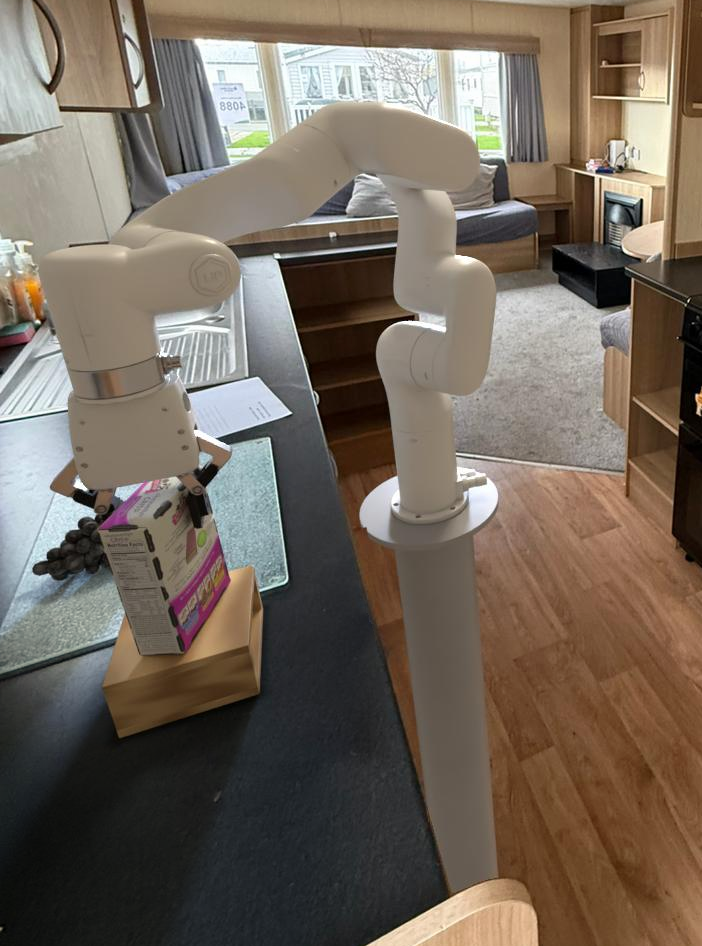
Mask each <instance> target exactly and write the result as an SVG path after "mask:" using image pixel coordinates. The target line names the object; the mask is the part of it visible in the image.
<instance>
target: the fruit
mask: <svg viewBox="0 0 702 946" xmlns="http://www.w3.org/2000/svg"><path fill="white" fill-rule="evenodd" d="M126 500H127V499H126ZM126 500H123V502H125V501H126ZM103 523H104V522H103V519H102V516H101V515H98V514H96V515H94V518H93V517H91V516H88V515H87V516H83V517H80V519H78V521H77V525H76V526H77V527H78V529H70V530H69V531H67V532H66V533H65V535H64V539H63V540H62V541H61V542H60V543H59V547H57V546H55V547H53V548H50V549H49V550H48V551H47V552H46V555H45V557H46V559H45V560H39V561H38V562H36V563H34V564H33V566H32V567H31V571H32V572H31V573H32V574H33V575H35V576H38V577H41V576H45V575H47V574H49V575H50V577H51V578H52V579H53V580H54V581H58V582H59V581H60V582H61V581H64V580H67V578H68V577H69V575H70V576H74V575H75V576H76V575H78V574H80V573H83V572H85V574H87V575H95V574H97V573H98V572H99V570H100V567H101V568H102V569H110V567H109V564H108V561H107V558H106V555H105V552H104V549H103V546H102V544H101V541H100V538H99V535H98V532H97V529H98V528H99V527H100V526H101V525H102V524H103Z"/></svg>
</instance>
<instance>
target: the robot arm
mask: <svg viewBox="0 0 702 946" xmlns="http://www.w3.org/2000/svg"><path fill="white" fill-rule="evenodd" d="M480 167H481V155H480V151H479V148H478V146H477V143H476V142H475V140H474V139H473V137H472V136H471V135H470V134H469V133H468V132H466V131H465V130H464V129H462V128H461V127H458V126H457V125H453V124H451V123H448V122H446V121H443V120H440V119H438V118H434V117H432V116H429V115H427V114H424V113H421V112H419V111H417V110H413V109H411V108H408V107H405V106H403V105H399V104H395V103H391V102H385V101H384V102H383V101H336V102H333V103H329V104H326V105H324V106H322V107H320V108H318V109H317V110H315V111H314V112H313V113H312V114H310V115H309V116H308V117H306V118H305V119H303V120H302V121H300V122H299V123H297V125H295V126H294V127H292V128H291V129H290V130H288V131H286V133H284V134H283V135H281V136H280V137H279V138H277V139H276V140H275V141H273V142H272V143H270V144H268V146H266V147H265V148H263V149H262V150H261V151H259V152H258V153H256V154H254V156H251V157H250V158H249V159H246V160H244V161H242V162H240V163H237V164H234V165H232V166H229V167H227V168H226V169H223V170H221V171H218V172H216V173H214V174H212V175H210V176H207V177H205V178H203V179H200V180H198V181H195V182H193V183H190V184H189V185H186V186H184V187H182V188H180V189H178V190H176V191H174V192H172V193H171V194H169V195H167V196H165V197H163V198H162V199H160V200H159V201H157V202H156V203H154V204H153V205H151V206H150V207H148V208H147V209H146V210H144V211H142V212H141V213H140V214H138V215H136V216H135V217H134V218H132V219H131V220H130V221H129V222H127V223H126V224H125V225H123V226H122V227H121V228H120V229H119V230H118V231H117V232H115V234H114V235H113V237H112V238H110V240H109V242H108V243H106V244H105V243H103V244H88V245H79V246H72V247H71V246H70V247H67V248H62V249H58V250H54V251H51V252H49V253H47V254H46V255H44V256H43V257H42V258H41V259H40V261H39V262H38V266H37V273H38V277H39V282H40V285H41V288H42V292H43V295H44V298H45V301H46V305H47V308H48V311H49V314H50V317H51V321H52V325H53V328H54V331H55V333H56V338H57V341H58V344H59V347H60V350H61V355H62V357H63V361H64V363H65V367H66V370H67V374H68V377H69V380H70V384H71V387H72V390H71V391H70V392H69V394H68V397H67V419H68V420H67V421H68V429H69V437H70V443H71V448H72V449H71V450H72V454H73V457H71V459H70V460H69V462H67V464H66V465H65V466H63V468H62V469H61V470H60V472H58V474H56V476H55V477H54V478H53V480H52V482H51V483H50V485H49V490H50V491H52V492H54V493H56V494H59V495H62V496H63V497H66V498H70V499H72V501H74V502H75V503H77V504H79V505H82V506H85V507H87V508H90V509H92V510H93V512H94V514H96V515H97V514H98V515H101V516H102V519H103V522H105V521H106V520H107V519H108V518H109V517H110V516H111V515H112V514H113V513H114V512H115V511H116V510H117V509H118V508H119V507H120V506H121V505H122V504H123V503H124V502H123V501H124V500H123V499H122V498H121V497H119V496H117V495H116V493H117V489H118V488H122V487H123V488H124V487H128V486H135V485H139V484H140V485H141V484H143V483H145V482H150V481H155V480H160V479H165V478H170V477H175V476H176V477H177V478H178V479H179V480H180V481H181V482H182V483H183V484H184V486H185V487H186V488H187V489H188V490H189V492H188V496H187V502H188V506H189V510H190V514H191V518H192V522H193V526H194V528H196V529H199V528H202V527H203V522H204V517H205V516H207V515H209V513H210V506H209V502H208V498H207V493H206V489H205V488H207V487H208V486H209V485H210V483H211V482H212V481H213V480H214V479H215V478H216V476H217V475H218V474H219V472H220V470H221V469H222V468H223V467H224V466H225V465H226V464H227V463H228V462H229V460H230V459H231V458H232V455H233V447H231V445H228V444H226V443H224V442H222V441H220V440H218V439H217V438H214V437H212V436H210V435H208V434H206V433H205V432H202V431H201V429H200V428H201V427H200V425H199V422H198V418H197V416H196V413H195V410H194V407H193V404H192V402H191V400H190V399H191V398H190V397H189V394H188V392H187V390H186V387H185V385H184V383H183V381H182V380H181V378H180V376H179V374H177V373H174V371H175V370H178V369H183V368H184V361H183V357H182V354H178V355H172V354H168V352H166V351H165V348H164V347H162V343H161V339H160V335H159V330H158V326H157V321H156V318H155V317H156V316H157V317H158V316H160V315H166V314H175V313H183V312H184V313H185V312H194V311H200V310H205V309H208V308H212V307H215V306H217V305H220V304H221V303H224V302H225V301H227V300H228V299H229V298H230V297H231V296H233V294H234V293H235V292H236V290H237V289H238V287H239V285H240V282H241V278H242V267H241V263H240V261H239V259H238V257H237V256H236V254H235V253H234V251H233V250H232V249H231V248H229V246H227V245H226V244H225V243H226V242H229V241H231V240H233V239H236V238H239V237H242V236H246V235H248V234H252V233H257V232H263V231H270V230H275V229H279V228H284V227H287V226H291V225H294V224H297V223H299V222H303V221H305V220H307V219H309V218H310V217H311V216H312V215H314V214H315V213H316V212H317V211H318V210H319V209H320V208H321V207H323V206H324V205H325V204H326V203H327V202H329V200H330V199H332V198H333V197H334V196H335V195H336V194H338V193H339V192H340V191H341V190H342V189H343V188H345V187H346V186H347V185H348V184H350V183H351V182H352V181H353V180H354V179H355V178H357V177H359V176H361V175H363V174H369V175H375V176H376V177H377V179H378V180H379V181H380V182H381V183H382V185H383V186H384V187H385V189H386V190H387V191H388V193H389V194H390V197H391V199H392V200H393V203H394V205H395V208H396V212H397V218H398V219H397V220H398V223H397V224H398V226H397V240H396V241H397V242H396V252H395V262H394V270H393V271H394V273H393V296H394V300H395V302H396V304H397V305H399V306H400V307H401V308H402V309H404V310H406V311H409V312H411V313H414V314H419V315H423V316H429V317H433V318H438V319H443V320H444V321H445V326H443V327H442V326H440V325H436V324H430V323H425V322H420V321H414V320H413V321H412V320H408V321H406V320H405V321H398V322H396V323H393V324H392V325H390V326H388V327H387V328H386V329H384V331H383V332H382V333H381V334H380V336H379V338H378V340H377V343H376V347H375V349H376V350H375V358H376V364H377V368H378V371H379V375H380V377H381V379H382V383H383V385H384V389H385V393H386V397H387V402H388V408H389V417H390V424H391V425H390V426H391V434H392V441H393V442H392V443H393V450H394V458H395V460H394V461H395V469H396V476H397V477H398V485H399V490H398V491H397V492H396V493H395V494H394V495H393V497H392V499H391V510H392V513H393V515H394V516H395V517H396V518H397V519H399V520H401V521H403V522H406V523H410V524H419V525H424V524H433V523H438V522H441V521H445V520H447V519H449V518H452V517H453V516H455V515H457V514H458V513H459V512H461V511H462V510H463V509H464V508H465V506H466V505H467V503H468V499H469V494H468V491H469V488H473V487H479V486H483V485H487V478H488V477H487V474H486V473H481V474H480V475H476V472H477V471H476V470H475V469H470V471H467V472H463V473H461V471H460V472H458V469H457V467H458V463H457V453H456V452H457V451H456V439H455V427H454V411H453V405H452V400H451V399H452V398H451V396H456V397H464V396H469V395H471V394H474V393H475V392H476V391H478V390H479V389H480V387H481V386H482V384H483V382H484V380H485V378H486V376H487V372H488V370H489V363H490V358H491V350H492V349H491V348H492V343H493V342H492V341H493V334H494V325H495V316H496V307H497V285H496V282H495V277H494V274H493V272H492V271H491V269H490V268H489V267H488V265H486V264H485V263H484V262H482V261H481V260H479V259H476V258H475V257H474V258H473V257H469V256H462V255H457V252H456V250H457V235H458V234H457V231H458V221H457V214H456V210H455V208H454V205H453V202H452V200H451V199H450V197H449V195H448V193H447V192H450V193H455V192H460V191H461V192H462V191H463V190H466V189H468V188H469V187H470V186H471V185H472V184H473V183H474V182H475V180H476V179H477V177H478V175H479V172H480V169H481V168H480ZM202 452H204V453H206V454H208V455H210V456H211V459H209V460H208V461H207V462H206V463H205V464H204V465H203V467H201V468H200V467H199V466H200V453H202ZM475 471H476V472H475ZM77 476H78V477H79V480H80V481H78V480H77V479H76V477H77ZM486 477H487V478H486Z"/></svg>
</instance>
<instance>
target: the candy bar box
mask: <svg viewBox="0 0 702 946" xmlns="http://www.w3.org/2000/svg"><path fill="white" fill-rule="evenodd" d="M199 467H200V468H201V469H202V465H199ZM205 489H206V493H207V498H208V502H209V506H210V513H209V515H207V516H205V517H204V522H203V527H202V528H199V529H196V528H194V526H193V522H192V518H191V514H190V510H189V506H188V502H187V496H188V492H189V490H188V489H187V488H186V487H185V486H184V484H183V483H182V482H181V481H180V480H179V479H178V478H177V477H176V476H175V477H170V478H165V479H160V480H155V481H150V482H145V483H141V484H140V486H139V487H137V489H136V490H135V491H133V493H132V494H131V495H130V496H129V497H128V498H127V499H126V501H125V500H124V501H125V502H124V503H123V504H122V505H121V506H120V507H119V508H118V509H117V510H116V511H115V512H114V513H113V514H112V515H111V516H110V517H109V518H108V519H107V520H106V521H105V522H104V523H103V524H102V525H101V526H100V527H99V528H98V529H97V532H98V535H99V538H100V541H101V544H102V546H103V549H104V552H105V555H106V558H107V561H108V564H109V570H110V573H111V576H112V578H113V581H114V584H115V587H116V589H117V592H118V596H119V598H120V603H121V606H122V609H123V610H124V614H125V613H126V617H127V620H128V622H129V625H130V628H131V632H132V635H133V637H134V640H135V643H136V646H137V649H138V652H139V655H140V656H156V655H168V654H184V653H185V652H186V651H187V650H188V648H189V647H190V645H191V644H192V642H193V640H194V639H195V637H196V636H197V634H198V632H199V631H200V629H201V628H202V626H203V624H204V623H205V621H206V619H207V618H208V616H209V615H210V613H211V611H212V610H213V608H214V607H215V605H216V604H217V602H218V600H219V599H220V597H221V596H222V594H223V593H224V591H225V589H226V588H227V586H228V585H229V583H230V582H231V579H230V577H229V573H228V571H229V569H228V564H227V560H226V557H225V554H224V550H223V546H222V543H221V539H220V534H219V531H218V527H217V524H216V520H215V519H216V518H215V514H214V511H213V508H212V503H211V500H210V496H209V492H208V489H207V487H206V488H205Z"/></svg>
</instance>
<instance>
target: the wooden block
mask: <svg viewBox="0 0 702 946" xmlns="http://www.w3.org/2000/svg"><path fill="white" fill-rule="evenodd" d="M228 573H229V577H230V579H231V582H230V583H229V585H228V586H227V588H226V589H225V591H224V593H223V594H222V596H221V597H220V599H219V600H218V602H217V604H216V605H215V607H214V608H213V610H212V611H211V613H210V615H209V616H208V618H207V619H206V621H205V623H204V624H203V626H202V628H201V629H200V631H199V632H198V634H197V636H196V637H195V639H194V640H193V642H192V644H191V645H190V647H189V648H188V650H187V651H186V652H185V653H184V654H168V655H156V656H140V655H139V652H138V649H137V646H136V643H135V640H134V637H133V635H132V632H131V628H130V625H129V622H128V620H127V617H126V613H125V612H124V615H123V617H122V621H121V625H120V628H119V631H118V634H117V638H116V640H115V644H114V647H113V651H112V653H111V656H110V657H111V658H110V660H109V663H108V667H107V669H106V673H105V676H104V679H103V682H102V685H101V689H102V691H103V695H104V698H105V700H106V704H107V707H108V710H109V713H110V716H111V718H112V721H113V724H114V727H115V730H116V733H117V736H118V738H119V739H122V738H125V737H128V736H131V735H134V734H138V733H140V732H144V731H147V730H150V729H153V728H156V727H159V726H162V725H165V724H169V723H172V722H175V721H178V720H182V719H185V718H187V717H188V718H189V717H191V716H194V715H197V714H200V713H204V712H206V711H210V710H212V709H216V708H219V707H222V706H225V705H228V704H233V703H235V702H238V701H241V700H245V699H248V698H250V697H251V698H252V697H253V696H257V695H260V692H261V691H260V690H261V673H262V672H261V671H262V670H261V668H262V644H263V626H264V625H263V622H264V607H263V602H262V598H261V593H260V588H259V583H258V579H257V575H256V569H255V565H253V564H252V565H248V566H244V567H240V568H235V569H232V570H228Z"/></svg>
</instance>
